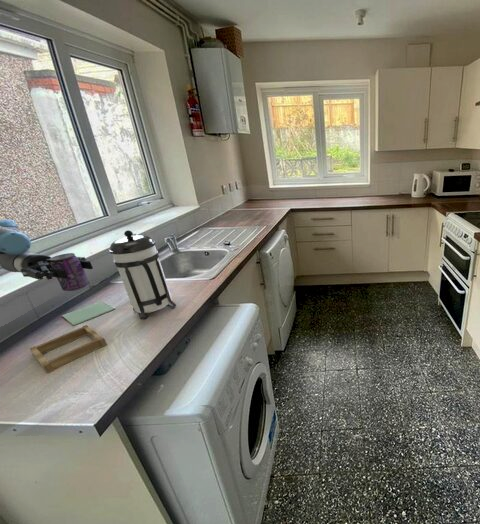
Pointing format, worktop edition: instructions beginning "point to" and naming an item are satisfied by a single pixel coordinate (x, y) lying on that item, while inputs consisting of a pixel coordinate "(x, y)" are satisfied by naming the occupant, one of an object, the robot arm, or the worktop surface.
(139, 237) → the coffee press
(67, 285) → the beverage can
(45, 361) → the shallow wooden tray
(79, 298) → the worktop surface
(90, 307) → the mat
